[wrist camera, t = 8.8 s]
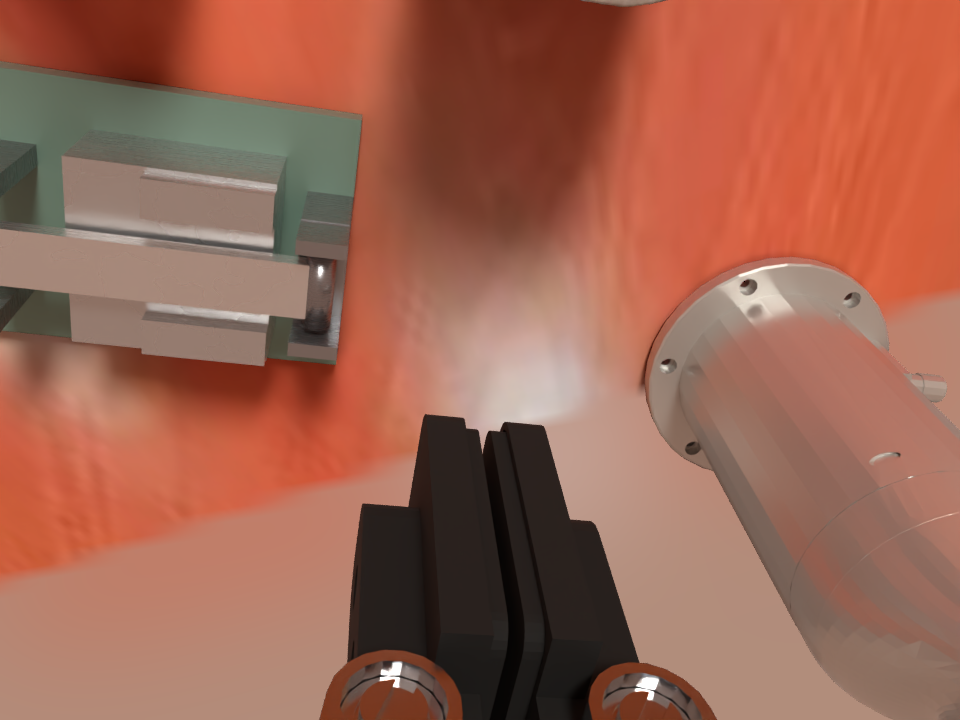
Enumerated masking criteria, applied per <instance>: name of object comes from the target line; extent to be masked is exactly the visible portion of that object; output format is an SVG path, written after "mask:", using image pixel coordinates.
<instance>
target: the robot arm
mask: <svg viewBox="0 0 960 720" xmlns="http://www.w3.org/2000/svg"><path fill="white" fill-rule="evenodd" d="M745 280H746V281H745ZM743 281H745V282H744V283H743V284H742V282H743ZM666 359H667V360H666ZM664 360H665V361H664ZM645 391H646V401H647V404H648V407H649V410H650V413H651V416H652V419H653V420H654V422H655V424H656V426H657V428H658V430H659V432H660V434H661V436H662V437H663V438H664V439H665V441H666V442H667V443H668V444H669V446H670V447H671V448H672V449H673V450H674V451H676V452H677V453H678V454H679V455H680V456H681V457H683V458H684V459H686V460H688V461H690V462H692V463H694V464H696V465H698V466H700V467H702V468H705V469H709V470H712V471H714V473H715V475H716V477H717V478H718V480H719V482H720V484H721V486H722V488H723V490H724V492H725V493H726V495H727V497H728V499H729V501H730V503H731V505H732V506H733V508H734V510H735V512H736V514H737V516H738V518H739V520H740V521H741V523H742V525H743V527H744V529H745V531H746V533H747V535H748V536H749V538H750V540H751V542H752V544H753V546H754V548H755V550H756V552H757V554H758V555H759V557H760V559H761V561H762V563H763V565H764V567H765V569H766V570H767V572H768V574H769V576H770V578H771V580H772V581H773V584H774V585H775V587H776V589H777V591H778V593H779V595H780V597H781V598H782V600H783V602H784V604H785V606H786V608H787V610H788V612H789V614H790V615H791V617H792V619H793V621H794V623H795V625H796V626H797V628H798V630H799V631H800V633H801V635H802V637H803V639H804V641H805V642H806V644H807V646H808V648H809V650H810V652H811V653H812V655H813V656H814V658H815V659H816V661H817V662H818V663H819V665H820V666H821V667H822V669H823V670H824V671H825V672H826V673H827V674H828V676H829V677H830V678H831V679H832V680H833V681H834V682H835V683H836V684H837V685H838V686H839V687H841V688H842V689H843V690H844V691H845V692H847V693H848V694H849V695H850V696H852V697H853V698H855V699H856V700H857V701H859V702H860V703H862V704H864V705H866V706H867V707H869V708H871V709H873V710H875V711H876V712H878V713H880V714H882V715H884V716H886V717H888V718H891V719H893V720H960V430H959V429H958V428H957V427H956V426H955V425H954V424H953V423H952V422H951V421H950V420H949V419H948V418H947V417H946V416H945V415H944V414H943V413H942V412H941V411H940V410H939V409H938V408H937V407H936V406H935V405H934V404H933V403H932V402H939V401H942V399H943V398H944V397H945V394H946V391H947V386H946V381H945V380H944V378H943V377H941V376H938V375H929V374H921V373H916V374H910V373H909V372H908V371H907V370H906V369H905V368H904V367H903V366H902V365H901V364H900V363H899V362H898V361H897V360H896V359H895V358H894V357H893V356H892V355H891V354H890V353H889V339H888V332H887V325H886V322H885V320H884V318H883V315H882V313H881V310H880V308H879V306H878V305H877V303H876V302H875V301H874V299H873V298H872V297H871V295H870V294H869V293H868V291H867V290H866V289H864V288H863V287H862V286H861V285H860V284H859V283H858V282H857V281H856V280H855V279H853V278H852V277H851V276H849V275H847V274H846V273H844V272H843V271H841V270H839V269H838V268H836V267H834V266H831V265H828V264H826V263H823V262H820V261H817V260H812V259H805V258H797V257H781V258H767V259H763V260H759V261H755V262H750V263H746V264H743V265H741V266H738V267H736V268H733V269H731V270H729V271H726V272H724V273H721V274H720V275H718V276H716V277H715V278H713V279H712V280H710V281H708V282H707V283H705V284H703V285H702V286H700V287H699V288H698V289H697V290H695V291H694V292H693V293H692V294H691V295H690V296H688V297H687V298H686V299H685V300H684V301H683V302H682V303H681V304H680V305H679V306H678V307H677V308H676V310H675V311H674V312H673V313H672V314H671V316H670V317H669V318H668V319H667V320H666V322H665V324H664V325H663V327H662V329H661V330H660V332H659V334H658V336H657V337H656V339H655V341H654V344H653V347H652V349H651V352H650V355H649V358H648V361H647V368H646V375H645ZM350 605H351V606H350V622H349V641H348V660H347V664H346V665H345V666H344V667H343V668H342V669H340V671H338V672H337V673H336V674H335V675H334V677H333V679H332V682H331V684H330V686H329V688H328V690H327V692H326V697H325V700H324V704H323V708H322V711H321V715H320V719H319V720H717V719H716V717H715V715H714V713H713V711H712V709H711V708H710V706H709V705H708V704H707V702H706V701H705V699H704V698H703V697H702V695H701V694H700V693H699V692H698V691H697V690H696V689H695V688H694V687H692V686H691V685H690V684H689V683H688V682H687V681H685V680H684V679H683V678H681V677H679V676H677V675H676V674H674V673H672V672H670V671H668V670H666V669H664V668H660V667H657V666H654V665H651V664H647V663H639V660H638V657H637V654H636V651H635V647H634V644H633V641H632V638H631V635H630V631H629V628H628V625H627V622H626V619H625V616H624V612H623V609H622V606H621V603H620V599H619V596H618V593H617V590H616V587H615V583H614V580H613V577H612V574H611V570H610V567H609V564H608V561H607V558H606V554H605V551H604V548H603V545H602V542H601V538H600V535H599V532H598V530H597V528H596V526H595V524H594V523H593V522H591V521H581V520H570V518H569V514H568V511H567V507H566V504H565V500H564V496H563V492H562V489H561V485H560V481H559V478H558V474H557V471H556V467H555V463H554V460H553V456H552V452H551V449H550V445H549V441H548V438H547V434H546V431H545V428H544V426H542V425H532V424H522V423H511V422H504V423H503V425H502V427H501V430H500V432H498V431H489V432H488V433H487V436H486V440H485V445H484V449H483V454H482V449H481V443H480V436H479V431H478V430H476V429H466V425H465V420H464V418H458V417H448V416H437V415H427V414H425V416H424V418H423V422H422V428H421V434H420V440H419V446H418V452H417V458H416V464H415V470H414V476H413V482H412V488H411V495H410V500H409V506H408V507H401V506H388V505H374V504H362V508H361V514H360V521H359V529H358V536H357V544H356V552H355V561H354V569H353V580H352V592H351V604H350Z"/></svg>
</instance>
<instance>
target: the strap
mask: <svg viewBox="0 0 960 720" xmlns="http://www.w3.org/2000/svg"><path fill="white" fill-rule="evenodd" d="M336 264H337V260H336V259H328V258H319V257H311V256H307V258H306V257H298V256H290V255H282V254H273V253H265V252H257V251H248V250H240V249H232V248H224V247H215V246H207V245H199V244H191V243H182V242H174V241H166V240H157V239H149V238H141V237H133V236H124V235H116V234H108V233H100V232H91V231H83V230H75V229H67V228H58V227H50V226H42V225H33V224H25V223H17V222H9V221H0V286H7V287H16V288H25V289H34V290H43V291H52V292H62V293H71V294H80V295H89V296H98V297H107V298H116V299H125V300H134V301H143V302H153V303H162V304H171V305H180V306H189V307H198V308H207V309H216V310H225V311H234V312H244V313H253V314H262V315H271V316H280V317H289V318H298V319H302V321H301V325H302V326H303V327H304V328H305V329H308V330H311V331H325V330H328V329H329V328H330V325H331V315H332V304H333V294H334V284H335V274H336Z"/></svg>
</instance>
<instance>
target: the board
mask: <svg viewBox="0 0 960 720" xmlns="http://www.w3.org/2000/svg"><path fill="white" fill-rule="evenodd" d="M361 123H362V115H361V114H354V113H348V112H341V111H334V110H327V109H320V108H314V107H307V106H300V105H293V104H287V103H280V102H273V101H266V100H260V99H253V98H246V97H239V96H232V95H226V94H219V93H212V92H205V91H199V90H192V89H185V88H178V87H172V86H165V85H158V84H151V83H144V82H138V81H131V80H124V79H117V78H111V77H104V76H97V75H90V74H84V73H77V72H70V71H63V70H56V69H50V68H43V67H36V66H29V65H23V64H16V63H9V62H2V61H0V140H8V141H15V142H23V143H30V144H36V148H37V163H38V165H37V166H36V167H35V168H34V169H33V170H32V171H30V172H29V173H28V174H27V175H26V176H25V177H24V178H22V179H21V180H20V181H19V182H18V183H17V184H15V185H14V186H13V187H12V188H11V189H10V190H8V191H7V192H6V193H5V194H4V195H3V196H1V197H0V221H9V222H17V223H25V224H33V225H42V226H50V227H58V228H65V210H64V193H63V175H62V157H61V156H62V155H63V154H64V153H65V152H66V151H67V150H69V149H70V148H71V147H72V146H73V145H74V144H75V143H76V142H77V141H79V140H80V139H81V138H82V137H83V136H84V135H85V134H86V133H88V132H89V131H90V130H99V131H106V132H113V133H120V134H128V135H135V136H142V137H149V138H156V139H164V140H171V141H178V142H185V143H193V144H200V145H207V146H214V147H222V148H229V149H236V150H243V151H250V152H258V153H265V154H272V155H279V156H287V162H286V177H285V192H284V207H283V222H282V237H281V252H280V254H282V255H290V256H298V255H295V246H296V238H297V234H298V230H299V226H300V222H301V217H302V213H303V209H304V205H305V201H306V197H307V193H308V191H313V192H320V193H328V194H336V195H343V196H351V197H354V190H355V180H356V171H357V161H358V152H359V142H360V133H361ZM292 323H293V318H289V317H280V316H276V323H275V327H274V331H273V335H272V339H271V343H270V347H269V351H268V355H267V358H274V359H284V360H294V361H304V362H314V363H323V364H333V365H336V361H334V360H324V359H314V358H305V357H295V356H287V352H288V342H289V337H290V332H291V327H292ZM2 331H10V332H20V333H30V334H40V335H49V336H59V337H69V338H72V334H71V317H70V299H69V293H62V292H52V291H43V290H35V291H34V292H33V293H32V295H31V296H30V297H29V298H28V299H27V301H26V302H25V303H24V304H23V306H22V307H21V308H20V309H19V310H18V312H17V313H16V314H15V315H14V316H13V318H12V319H11V320H10V321H9V322H8V324H7V325H6V326H5V327H4V328H3V330H2ZM339 332H340V331H339Z"/></svg>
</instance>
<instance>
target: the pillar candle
mask: <svg viewBox="0 0 960 720" xmlns="http://www.w3.org/2000/svg"><path fill="white" fill-rule="evenodd" d="M581 1H587V2H594V3H598V4H605V5H614V6H618V7H631V6H637V5H645V4H653V3H657V2H662V1H666V0H581Z"/></svg>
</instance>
